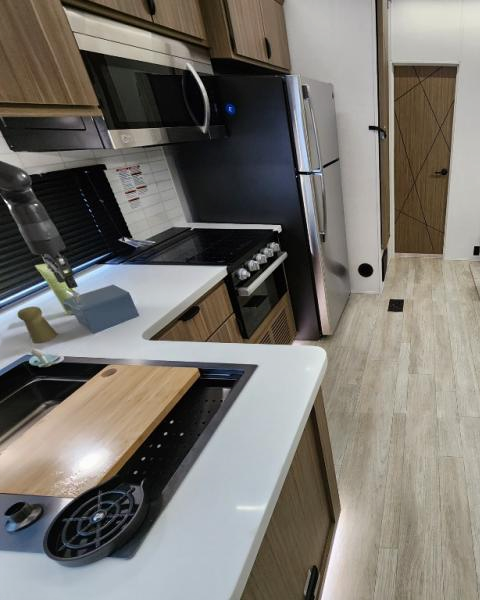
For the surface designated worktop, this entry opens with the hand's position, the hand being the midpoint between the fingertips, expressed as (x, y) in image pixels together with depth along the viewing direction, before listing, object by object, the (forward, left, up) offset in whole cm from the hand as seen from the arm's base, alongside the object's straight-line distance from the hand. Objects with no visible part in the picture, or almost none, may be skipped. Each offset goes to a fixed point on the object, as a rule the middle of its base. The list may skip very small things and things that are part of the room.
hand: (68, 284), depth 106 cm
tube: (+2, +18, -16) cm, 24 cm away
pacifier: (-14, -14, -16) cm, 26 cm away
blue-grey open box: (+6, 0, -16) cm, 17 cm away
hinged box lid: (+5, 0, -7) cm, 9 cm away
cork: (-11, +5, -16) cm, 20 cm away
